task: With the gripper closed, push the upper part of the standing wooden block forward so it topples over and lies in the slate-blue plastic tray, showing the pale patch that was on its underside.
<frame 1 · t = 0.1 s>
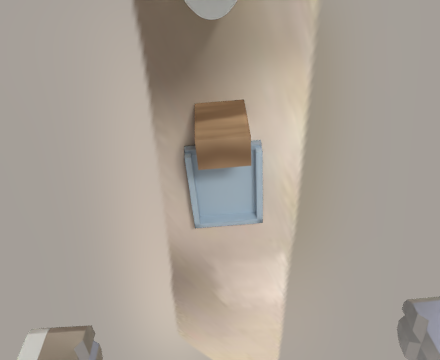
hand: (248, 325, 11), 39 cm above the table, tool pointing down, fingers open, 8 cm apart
wooden block: (220, 115, 51), on the table
tray: (225, 183, 58), on the table
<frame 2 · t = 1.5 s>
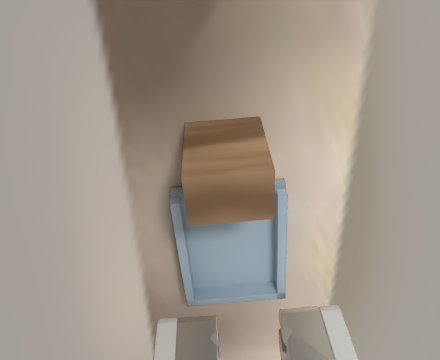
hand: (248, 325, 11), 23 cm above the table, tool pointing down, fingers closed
wooden block: (223, 141, 34), on the table
tray: (231, 241, 40), on the table
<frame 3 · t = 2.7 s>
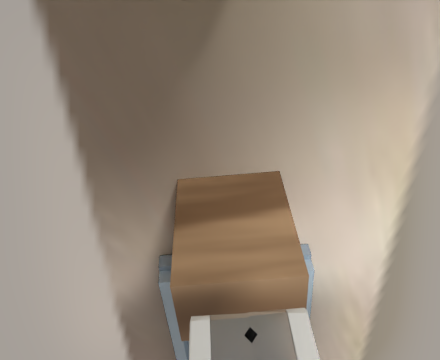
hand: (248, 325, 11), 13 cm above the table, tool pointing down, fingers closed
wooden block: (230, 201, 25), on the table
tray: (238, 313, 32), on the table
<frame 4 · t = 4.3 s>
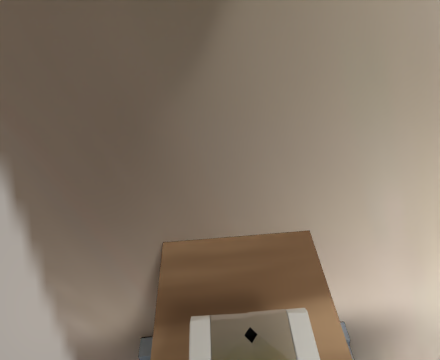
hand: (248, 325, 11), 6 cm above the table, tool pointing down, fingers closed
wooden block: (238, 270, 18), on the table
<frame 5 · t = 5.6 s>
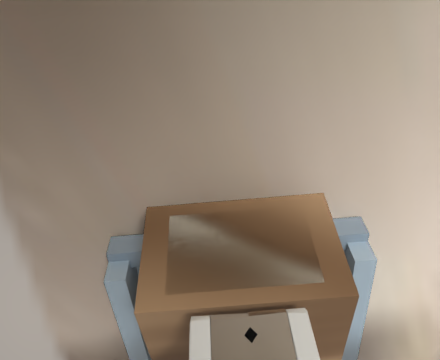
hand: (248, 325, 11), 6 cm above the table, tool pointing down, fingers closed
wooden block: (240, 246, 12), point 3 cm above the table, tilted 97°, touching tray
tray: (242, 333, 20), on the table
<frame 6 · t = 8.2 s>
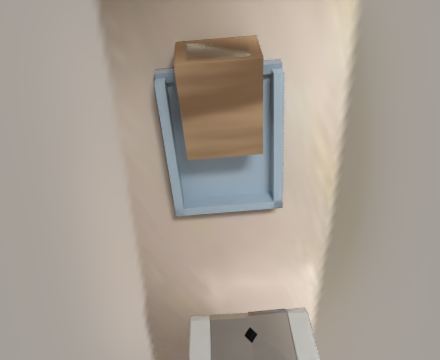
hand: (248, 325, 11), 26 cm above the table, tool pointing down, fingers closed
wooden block: (217, 49, 29), point 3 cm above the table, tilted 97°, touching tray
tray: (223, 140, 37), on the table
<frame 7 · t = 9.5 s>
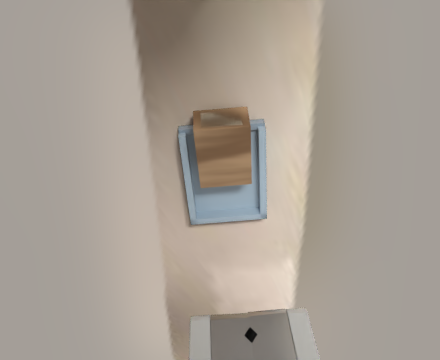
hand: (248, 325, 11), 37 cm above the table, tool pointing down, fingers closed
wooden block: (221, 118, 44), point 3 cm above the table, tilted 97°, touching tray
tray: (224, 171, 52), on the table
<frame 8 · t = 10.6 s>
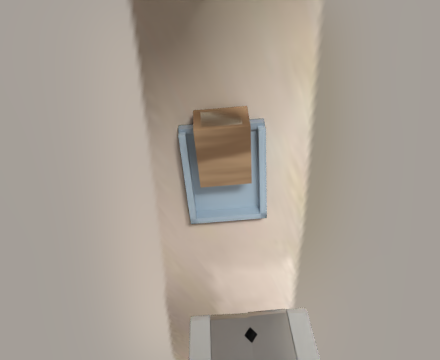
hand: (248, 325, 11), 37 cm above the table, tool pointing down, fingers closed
wooden block: (220, 118, 44), point 3 cm above the table, tilted 97°, touching tray
tray: (224, 171, 52), on the table
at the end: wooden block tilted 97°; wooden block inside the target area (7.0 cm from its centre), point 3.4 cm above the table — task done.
